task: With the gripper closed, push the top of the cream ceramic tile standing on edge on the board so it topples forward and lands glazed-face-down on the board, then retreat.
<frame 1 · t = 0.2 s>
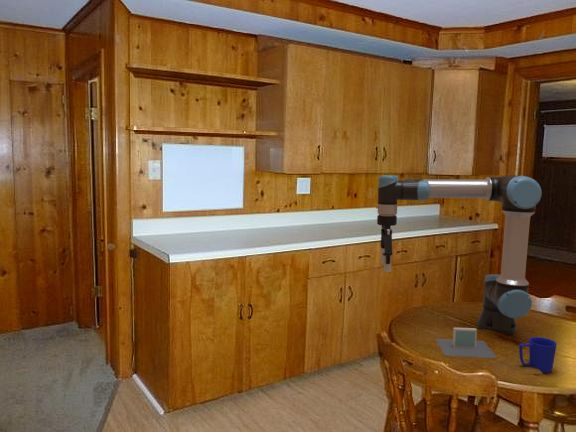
hand: (385, 268, 192), 28 cm above the table, fingers open, 13 cm apart
mug: (535, 370, 164), on the table
tile: (464, 346, 180), point 1 cm above the table, touching board
board: (464, 351, 179), on the table
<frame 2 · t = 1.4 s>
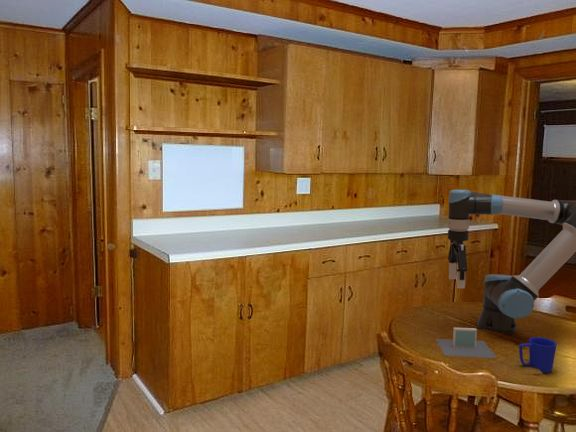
hand: (456, 283, 189), 22 cm above the table, fingers open, 13 cm apart
nothing on the table moved.
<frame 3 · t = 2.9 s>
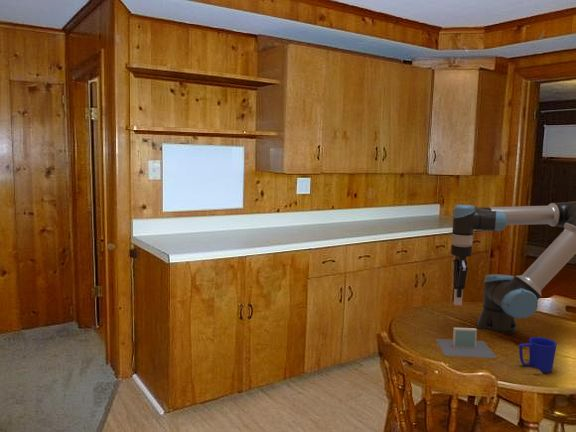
hand: (457, 304, 189), 14 cm above the table, fingers closed
nothing on the table moved.
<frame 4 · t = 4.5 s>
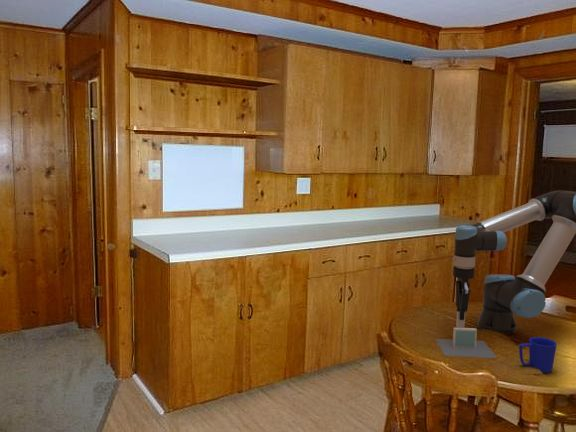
hand: (460, 327, 185), 7 cm above the table, fingers closed
nothing on the table moved.
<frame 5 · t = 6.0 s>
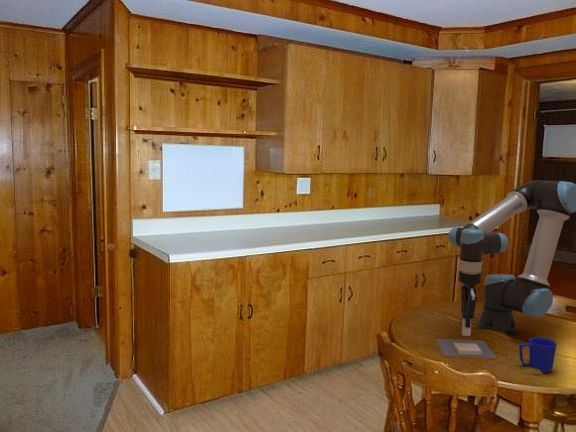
hand: (466, 334, 177), 7 cm above the table, fingers closed
tile: (464, 345, 179), point 2 cm above the table, tilted 90°, touching board
everything else where it was.
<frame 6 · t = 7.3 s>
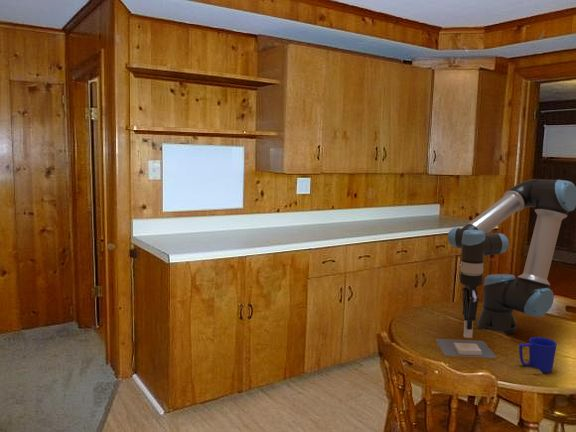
hand: (467, 336, 175), 7 cm above the table, fingers closed
nothing on the table moved.
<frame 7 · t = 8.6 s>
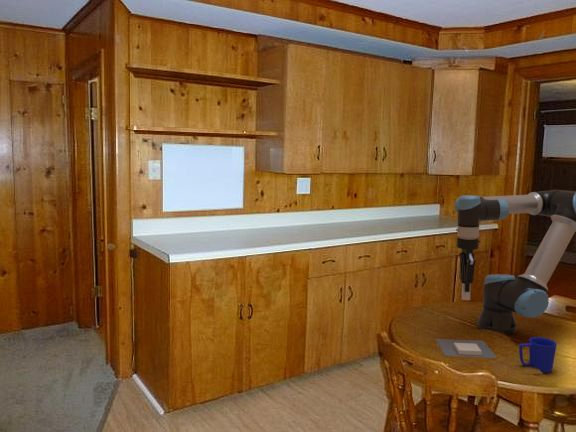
hand: (465, 299, 181), 19 cm above the table, fingers closed
nothing on the table moved.
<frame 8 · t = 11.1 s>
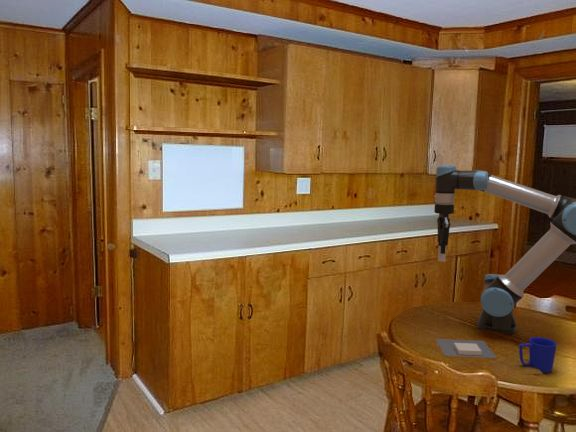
hand: (441, 260, 198), 29 cm above the table, fingers closed
nothing on the table moved.
at the end: tile tilted 90°; tile inside the target area on the board (0.1 cm from its centre), point 2.4 cm above the board's base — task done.
